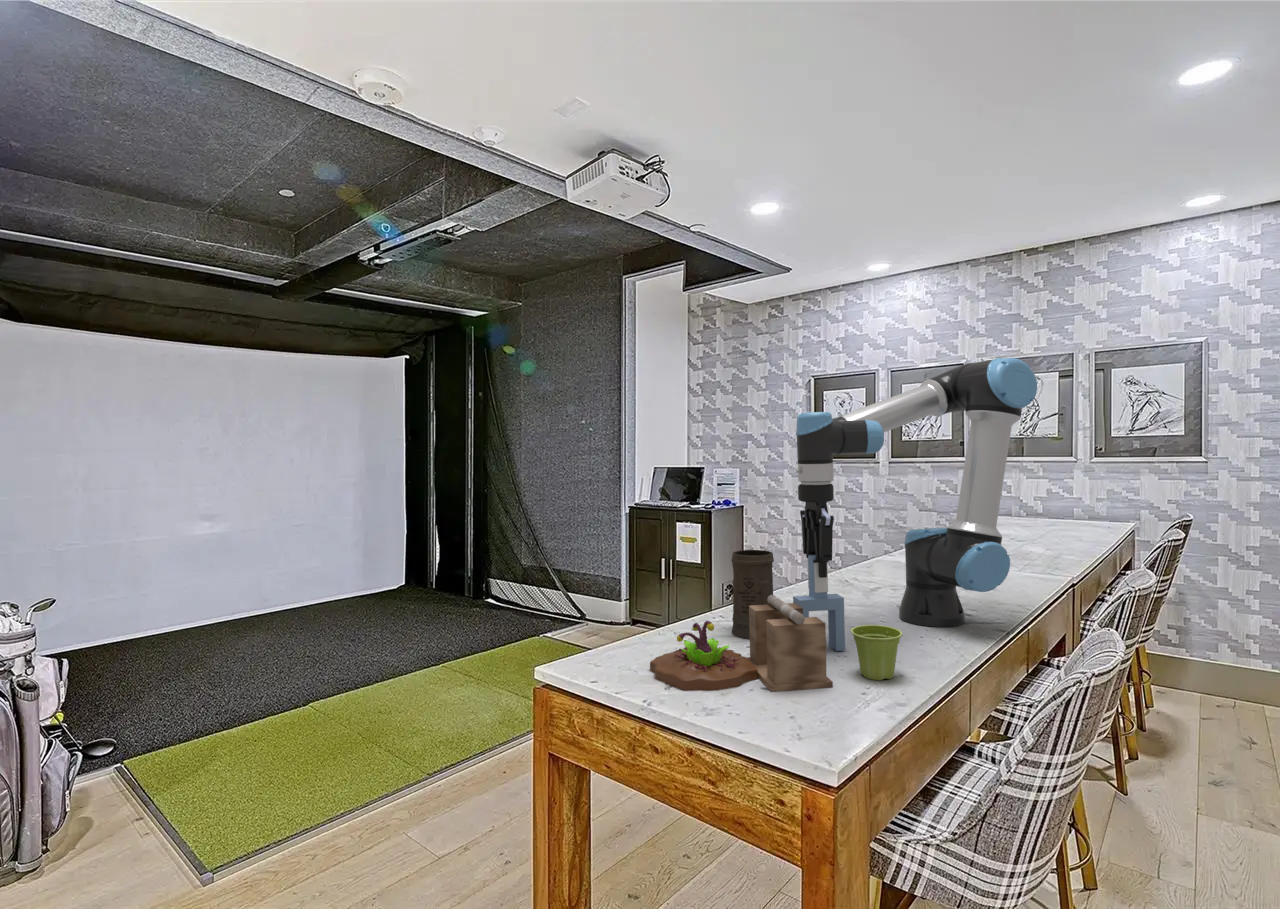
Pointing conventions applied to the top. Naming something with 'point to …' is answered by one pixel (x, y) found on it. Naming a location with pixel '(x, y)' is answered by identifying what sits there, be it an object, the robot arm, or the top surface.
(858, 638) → the plant pot
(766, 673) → the stand
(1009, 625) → the top surface
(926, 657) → the top surface
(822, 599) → the light blue forked piece
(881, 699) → the top surface
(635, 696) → the top surface
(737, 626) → the beer stein
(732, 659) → the plant
